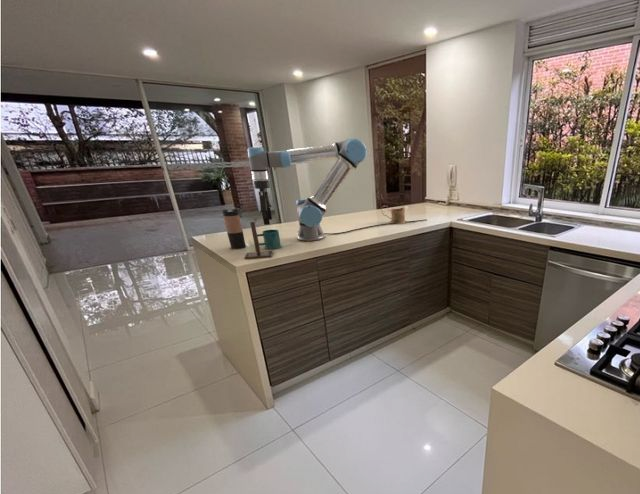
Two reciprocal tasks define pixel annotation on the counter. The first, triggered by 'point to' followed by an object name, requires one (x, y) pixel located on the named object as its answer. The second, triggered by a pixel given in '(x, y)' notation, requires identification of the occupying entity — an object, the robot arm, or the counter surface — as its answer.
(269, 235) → the teal mug
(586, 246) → the counter surface
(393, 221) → the mug
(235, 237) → the travel mug
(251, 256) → the mug stand
